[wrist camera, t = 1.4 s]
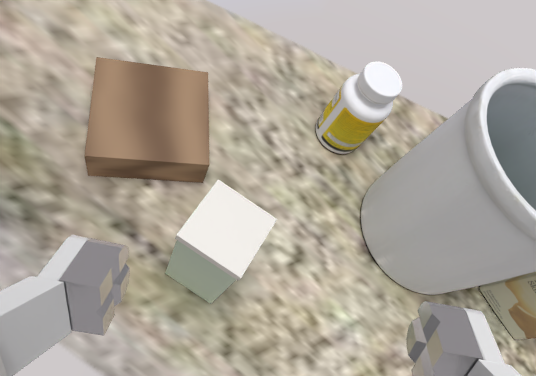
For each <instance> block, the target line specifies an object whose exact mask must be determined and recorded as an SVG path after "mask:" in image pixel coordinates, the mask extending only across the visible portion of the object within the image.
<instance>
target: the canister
mask: <svg viewBox="0 0 536 376" xmlns="http://www.w3.org/2000/svg"><path fill="white" fill-rule="evenodd" d="M276 220H277V219H276V218H275V217H273V216H272V215H270V214H269V213H267V212H266V211H264V210H263V209H261V208H260V207H258V206H257V205H255V204H254V203H252V202H251V201H249V200H248V199H246V198H245V197H243V196H242V195H240V194H239V193H237V192H236V191H235V190H233V189H232V188H230V187H229V186H227V185H226V184H224V183H223V182H221V181H220V180H217V182H216V183H215V184H214V186H213V187H212V188H211V190H210V191H209V192H208V194H207V195H206V196H205V198H204V199H203V200H202V202H201V203H200V204H199V206H198V207H197V208H196V210H195V211H194V212H193V214H192V215H191V216H190V218H189V219H188V220H187V222H186V223H185V224H184V226H183V227H182V228H181V230H180V231H179V232H178V234H177V235H176V238H175V239H176V240H177V241H176V244H175V247H174V250H173V253H172V255H171V258H170V261H169V264H168V267H167V270H166V273H165V274H167V275H168V276H170V277H171V278H173V279H174V280H176V281H177V282H179V283H180V284H182V285H183V286H185V287H186V288H188V289H189V290H191V291H192V292H194V293H195V294H197V295H198V296H200V297H201V298H203V299H204V300H206V301H207V302H209V303H210V304H211V303H212V302H213V301H214V300H215V299H217V298H218V297H219V296H220V295H221V294H222V293H223V292H224V291H225V290H226V289H227V288H228V287H229V286H230V285H231V284H232V283H233V282H234V281H236V280H239V279H240V278H241V277H242V276H243V274H244V272H245V271H246V269H247V267H248V266H249V264H250V263H251V261H252V259H253V258H254V256H255V254H256V253H257V251H258V249H259V248H260V246H261V245H262V243H263V241H264V240H265V238H266V236H267V235H268V233H269V232H270V230H271V228H272V227H273V225H274V223H275V222H276Z"/></svg>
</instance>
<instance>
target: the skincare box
mask: <svg viewBox="0 0 536 376" xmlns="http://www.w3.org/2000/svg"><path fill="white" fill-rule="evenodd" d="M480 291H481V292H482V294H483V295H484V297H485V298H486V300H487V301H488V303H489V304H490V306H491V307H492V309H493V310H494V312H495V313H496V314H497V316H498V317H499V319H500V320H501V322H502V323H503V324H504V326H505V327H506V329H507V330H508V331H509V333H510V334H511V336H512V337H513V338H514V339H515V340H519V339H531V338H536V272H532V273H528V274H524V275H519V276H516V277H512V278H508V279H504V280H500V281H496V282H492V283H488V284H484V285H482V286H481V287H480Z"/></svg>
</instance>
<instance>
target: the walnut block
mask: <svg viewBox="0 0 536 376" xmlns="http://www.w3.org/2000/svg"><path fill="white" fill-rule="evenodd" d="M85 161H86V166H87V171H88V175H89V176H105V177H121V178H137V179H154V180H170V181H186V182H202V183H203V181H204V178H205V175H206V173H207V170H208V167H209V108H208V72H200V71H193V70H186V69H178V68H171V67H164V66H157V65H149V64H142V63H135V62H128V61H120V60H113V59H106V58H99V57H97V58H96V66H95V74H94V82H93V91H92V99H91V107H90V115H89V124H88V132H87V140H86V148H85Z"/></svg>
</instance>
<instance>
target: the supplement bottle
mask: <svg viewBox="0 0 536 376" xmlns="http://www.w3.org/2000/svg"><path fill="white" fill-rule="evenodd" d="M401 90H402V81H401V78H400V76H399V74H398V73H397V72H396V71H395V70H394V69H393V68H392V67H391V66H389V65H387V64H385V63H383V62H371V63H369V64H368V65H366V66H365V68H364V69H363V70H362V72H361V73H360V74H356V75H353V76H351V77H349V78H348V79H347V80H346V81H345V82H344V84H343V85H342V86H341V88H340V89H339V91H338V92H337V93H336V95H335V96H334V97H333V99H332V100H331V102H330V103H329V104H328V106H327V107H326V109H325V110H324V111H323V113H322V114H321V115H320V117H319V119H318V120H317V123H316V133H317V136H318V138H319V140H320V142H321V143H322V144H323V145H324V146H325V147H326V148H327V149H329V150H330V151H333V152H335V153H339V154H346V153H350V152H352V151H354V150H355V149H356V148H358V147H359V146H360V145H361V144H362V143H363V142H364V140H365V139H366V138H367V137H368V136H369V135H370V134H371V133H372V132H373V131H374V130H375V129H376V128H377V127H378V126H379V125H380V124H381V123H382V122H383V121H384V120H385V119H386V118H387V116H388V115H389V114H390V112H391V110H392V106H393V100H394V99H395V98H396V97H397V95H398V94H399V93H400V92H401Z"/></svg>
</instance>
